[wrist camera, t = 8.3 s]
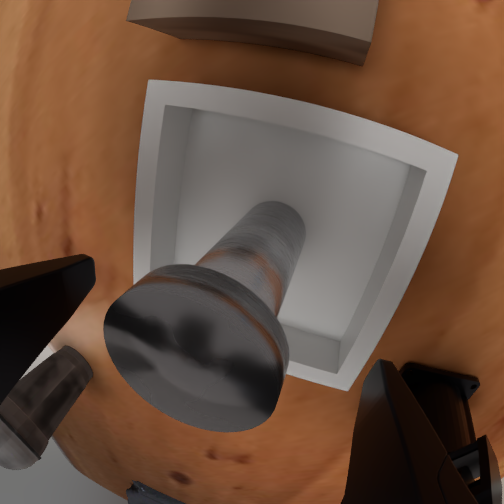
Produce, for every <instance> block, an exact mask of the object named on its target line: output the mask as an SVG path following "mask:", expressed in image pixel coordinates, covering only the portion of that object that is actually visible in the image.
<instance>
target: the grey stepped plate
mask: <svg viewBox="0 0 504 504" xmlns="http://www.w3.org/2000/svg"><path fill="white" fill-rule="evenodd" d="M132 481H133V480H132ZM133 483H134V485H132V486H131V487H130V488H129V489H127V490H126V494H127V497H128V504H185V503H183V502H181V501H178V500H176V499H174V498H172V497H169V496H167V495H165V494H163V493H161V492H158V491H156V490H154V489H152V488H150V487H148V486H146V485H144V484H142V483H141V482H138V481H137V482H136V481H133Z"/></svg>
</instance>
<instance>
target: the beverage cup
mask: <svg viewBox="0 0 504 504" xmlns="http://www.w3.org/2000/svg"><path fill="white" fill-rule="evenodd" d="M92 376H93V372H92V370H91V367H90V366H89V364H88V363H87V361H86V360H85V359H84V358H83V357H82V356H81V355H80V354H79V353H78V352H77V351H76V350H74V349H73V348H71V347H69V346H64V347H63V348H62V349H61V350H59V351H57V352H56V353H54V354H52V355H51V356H50V357H48V358H47V359H46V360H44V361H43V362H42V363H41V364H39V365H38V366H37V367H36V368H34V369H33V370H32V371H31V372H29V373H28V374H27V375H25V376H24V377H23V378H22V379H20V380H19V381H18V382H17V384H16V385H15V386H14V388H13V389H12V390H11V392H10V393H9V394H8V396H7V397H6V398H5V400H4V401H3V402H2V403H1V405H0V466H2V467H4V468H8V469H12V470H21V469H25V468H28V467H30V466H31V465H33V464H34V463H35V462H36V461H37V460H40V459H41V457H40V456H41V455H42V453H43V452H44V450H45V448H46V446H47V444H48V440H49V439H50V437H51V436H52V434H53V433H54V431H55V430H56V428H57V427H58V425H59V424H60V423H61V421H62V420H63V418H64V417H65V415H66V414H67V412H68V411H69V410H70V408H71V407H72V405H73V404H74V403H75V401H76V400H77V398H78V397H79V396H80V394H81V393H82V391H83V390H84V389H85V387H86V385H87V383H88V382H89V380H90V379H91V378H92Z"/></svg>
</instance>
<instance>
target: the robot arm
mask: <svg viewBox="0 0 504 504" xmlns="http://www.w3.org/2000/svg"><path fill="white" fill-rule="evenodd" d="M95 281H96V276H95V263H94V260H93V258H92V257H90V256H87V255H85V254H79V255H74V256H68V257H63V258H58V259H52V260H47V261H42V262H37V263H31V264H26V265H21V266H16V267H11V268H6V269H1V270H0V405H1V403H2V402H3V401H4V400H5V398H6V397H7V396H8V394H9V393H10V392H11V390H12V389H13V388H14V386H15V385H16V384H17V382H18V381H19V380H20V378H21V377H22V376H23V374H24V373H25V372H26V371H27V369H28V368H29V367H30V366H31V364H32V363H33V362H34V361H35V359H36V358H37V357H38V355H39V354H40V353H41V352H42V351H43V349H44V348H45V347H46V346H47V345H48V344H49V342H50V341H51V340H52V339H53V338H54V336H55V335H56V334H57V333H58V332H59V331H60V329H61V328H62V327H63V326H64V325H65V324H66V322H67V321H68V320H69V319H70V318H71V316H72V315H73V314H74V312H75V311H76V309H77V308H78V307H79V305H80V304H81V303H82V301H83V300H84V298H85V297H86V296H87V294H88V293H89V292H90V290H91V289H92V288H93V286H94V284H95ZM410 370H412V371H410ZM408 371H410V372H408ZM479 386H480V383H479V380H478V378H475V377H470V376H466V375H461V374H456V373H452V372H447V371H443V370H439V369H434V368H430V367H426V366H422V365H418V364H414V363H409V364H406V365H405V366H404V367H403V368H402V369H401V371H400V372H398V370H397V369H396V367H395V365H394V364H393V363H392V362H391V361H387V360H383V359H379V360H377V361H376V363H375V364H374V366H373V367H372V369H371V370H370V372H369V374H368V375H367V377H366V378H365V380H364V383H363V388H362V393H361V398H360V403H359V408H358V413H357V417H356V422H355V426H354V432H353V439H352V447H351V455H350V463H349V470H348V476H347V483H346V489H345V495H344V497H343V499H342V502H341V504H502V484H501V478H500V472H499V467H498V461H497V458H496V456H495V453H494V451H493V449H492V446H491V444H490V442H489V440H488V438H487V435H486V434H485V435H483V436H482V437H480V438H477V441H476V437H475V432H474V427H473V422H472V417H471V413H470V408H469V404H468V399H469V398H470V397H471V396H472V395H473V393H474V392H475V391H476V390H477V389H478V388H479ZM477 477H480V479H479V480H476V481H475V480H474V479H475V478H477Z"/></svg>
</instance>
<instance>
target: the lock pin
mask: <svg viewBox="0 0 504 504" xmlns="http://www.w3.org/2000/svg"><path fill="white" fill-rule="evenodd" d="M305 238H306V229H305V225H304V222H303V220H302V218H301V216H300V215H299V214H298V212H297V211H296V210H295V209H293V208H292V207H291V206H289V205H287V204H285V203H282V202H279V201H265V202H262V203H259V204H257V205H255V206H254V207H253V208H252V209H251V210H250V211H248V212H247V213H246V214H245V215H244V216H243V217H242V218H241V219H240V220H239V221H238V222H237V223H236V224H235V225H234V226H233V227H232V228H231V229H230V230H229V231H228V232H227V233H226V234H225V235H224V236H223V237H222V238H221V239H220V240H219V241H218V242H217V243H216V244H215V245H214V246H213V247H212V248H211V249H210V250H209V251H208V252H207V253H206V254H205V255H204V256H203V257H202V258H201V259H200V260H199V261H198V262H197V263H196V264H195V265H189V264H174V265H166V266H163V267H159V268H157V269H155V270H153V271H150V272H149V273H148V274H146V275H145V276H144V277H142V278H141V279H140V280H139V281H138V282H137V283H135V284H134V285H133V286H132V287H131V288H130V289H128V290H127V291H126V292H125V293H124V294H123V295H122V296H120V297H119V298H118V299H117V300H116V301H115V302H114V303H113V304H112V305H111V306H110V308H109V309H108V311H107V313H106V316H105V320H104V329H103V330H104V339H105V343H106V347H107V350H108V352H109V355H110V357H111V359H112V361H113V363H114V365H115V366H116V368H117V370H118V371H119V373H120V374H121V375H122V377H123V378H124V379H125V380H126V382H127V383H128V384H129V385H130V386H131V387H132V388H133V389H134V390H135V391H136V392H137V393H138V394H139V395H140V396H141V397H142V398H143V399H145V400H146V401H147V402H148V403H150V404H151V405H152V406H154V407H155V408H157V409H158V410H160V411H161V412H163V413H165V414H167V415H168V416H170V417H172V418H174V419H176V420H178V421H181V422H183V423H185V424H188V425H191V426H194V427H197V428H201V429H205V430H210V431H217V432H238V431H245V430H248V429H252V428H254V427H256V426H259V425H260V424H262V423H263V422H265V421H266V420H267V419H268V418H269V417H270V416H271V415H272V413H273V411H274V410H275V407H276V404H277V401H278V398H279V395H280V392H281V388H282V385H283V382H284V378H285V375H286V372H287V368H288V365H289V346H288V342H287V338H286V335H285V333H284V330H283V328H282V326H281V324H280V323H279V321H278V319H277V316H278V314H279V311H280V308H281V306H282V303H283V300H284V298H285V295H286V292H287V290H288V287H289V284H290V281H291V279H292V276H293V273H294V270H295V268H296V265H297V262H298V259H299V256H300V254H301V251H302V248H303V245H304V242H305Z"/></svg>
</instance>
